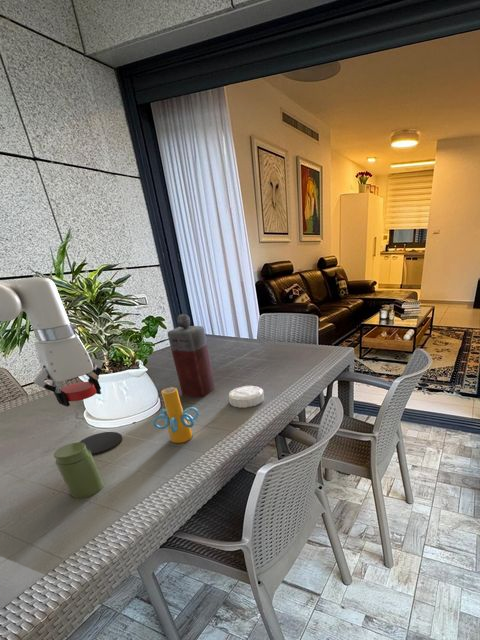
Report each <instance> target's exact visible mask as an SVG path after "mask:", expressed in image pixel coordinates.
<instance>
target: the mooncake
mask: <svg viewBox="0 0 480 640" xmlns="http://www.w3.org/2000/svg"><path fill="white" fill-rule="evenodd" d="M264 394H265V393H264V389H262V387H259V386H254V385H243V386H239V387H236V388H234V389H232V390H230V391H229V393H228V397H227V398H228V401H229V404H230V405H231V407H235V408H239V409H242V408H243V409H246V408H252V407H257V406H258V405H260V404H261V403H263V402H264V400H265V395H264Z"/></svg>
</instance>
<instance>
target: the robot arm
mask: <svg viewBox="0 0 480 640" xmlns="http://www.w3.org/2000/svg"><path fill="white" fill-rule="evenodd" d="M22 312H24V313H25V314H26V317H27V319H28V321H29V323H30V326H31V328H32V331H33V332H34V334H35V337H36V339H37V341H35V342H34V347H35V352H36V356H37V359H38V362H39V365H40V368H41V370H40V372H39V373H38V374H37V376H36V377H35V378H34V380H33V383H34V384H35V385H37V386H38V387H41V388H42V389H45V390H47V391H50V392H53V394H54V396H55V399H56V400H57V403H58V404H59V405H61V406H64V407H70V406H71V404H70V401H68V399H67V397H66V394H65V392H63V391H62V390H61V389H62V388H63V384H64V382H67V381H70V380H73V379H76V378H79V377H83V376H86V377H88V379H87V382H92V383H94V385H95V387H96V390H97V393H96V394H95V395H101V394H102V391H101V390H102V387H101V385H100V382H99V379H100V375H101V372H102V369H103V364H104V361H103V360H101V359H99V358H98V359H97V358H95V357H92V356H90V354H89V352H88V350H87V349H86V347H85V345H84V344H83V342H82V340H81V339H80V337H79V335H78V334H75V330H77V329H78V325H77V323H72V322H70V320H69V317H68V314H67V312H66V309H65V307H64V303H63V301H62V298H61V296H60V294H59V291H58V287H57V286H56V284H55V282H54V281H53V280H52V279H51V278H48V277H28V278H21V279H18V280H0V323H1V322H10V321H13V320H15V319H16V318H18V317H19V316H20V314H21V313H22ZM93 364H94V365H93ZM45 380H48V381H51V383H50V384H48V383H46V382H45Z"/></svg>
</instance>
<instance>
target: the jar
mask: <svg viewBox="0 0 480 640" xmlns="http://www.w3.org/2000/svg"><path fill="white" fill-rule="evenodd" d="M53 457H54V459H55V462H54V463H55V465H56V467H57V469H58V472H59V473H60V475H61V477H62V479H63V481H64V483H65V486H66V487H67V488H66V489H68V492H69V493H70V497H72V498H74V499H84V498H85V499H86V498H88V497H91V496H93V495H96V494H97V493H98V492H100V491H102V489H103V487H104V485H105V482H104V479H103V478H102V475H101V472H100V470H99V467H98V466H97V463H96V461H95V459H94V455H92V454H91V451H90V450H88V449H87V447H86V445H85V444H84V443H79V442H72V443H71V442H70V443H68V444H65V445H63V446H60V447H58V448H57V449H56V450H55V451H54V452H53Z"/></svg>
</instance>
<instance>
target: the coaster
mask: <svg viewBox="0 0 480 640" xmlns="http://www.w3.org/2000/svg"><path fill="white" fill-rule="evenodd" d="M122 442H123V435H122V434H121V433H119V432H117V431H104V432H98V433H95V434H92V435H88V436H87V437H85V438H83V439H81V440H80V441H79V442H78V443H84V444H85V445H86V447H87V449H88V450H90V451H91V454H92V456H97V455H99V454H103V453H106V452H109V451H111V450H113V449H116V447H118V446H119V445H120V444H121V443H122Z"/></svg>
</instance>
